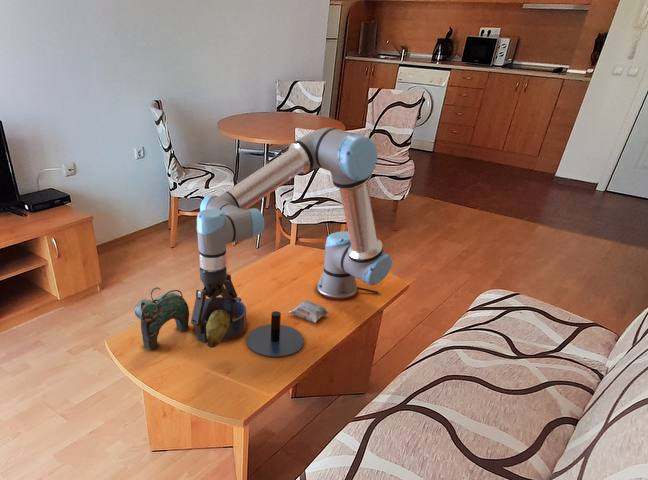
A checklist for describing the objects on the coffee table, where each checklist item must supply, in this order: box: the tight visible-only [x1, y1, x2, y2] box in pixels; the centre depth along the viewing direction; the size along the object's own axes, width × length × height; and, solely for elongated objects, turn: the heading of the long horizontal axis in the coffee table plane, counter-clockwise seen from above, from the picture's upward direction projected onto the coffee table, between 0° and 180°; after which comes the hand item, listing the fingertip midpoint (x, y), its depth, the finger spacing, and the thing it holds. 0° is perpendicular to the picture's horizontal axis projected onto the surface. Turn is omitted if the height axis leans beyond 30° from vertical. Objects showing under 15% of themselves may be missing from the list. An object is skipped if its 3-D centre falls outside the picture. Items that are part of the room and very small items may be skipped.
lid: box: [246, 310, 305, 359], centre depth 163 cm, size 19×19×11 cm
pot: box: [193, 296, 247, 341], centre depth 173 cm, size 18×23×7 cm
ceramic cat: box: [134, 286, 190, 351], centre depth 164 cm, size 20×6×20 cm, turn 137°
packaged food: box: [288, 300, 330, 323], centre depth 178 cm, size 9×12×5 cm
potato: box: [205, 310, 230, 349], centre depth 151 cm, size 8×13×8 cm, turn 146°
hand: (215, 330), depth 152 cm, fingers closed on potato, 13 cm apart
